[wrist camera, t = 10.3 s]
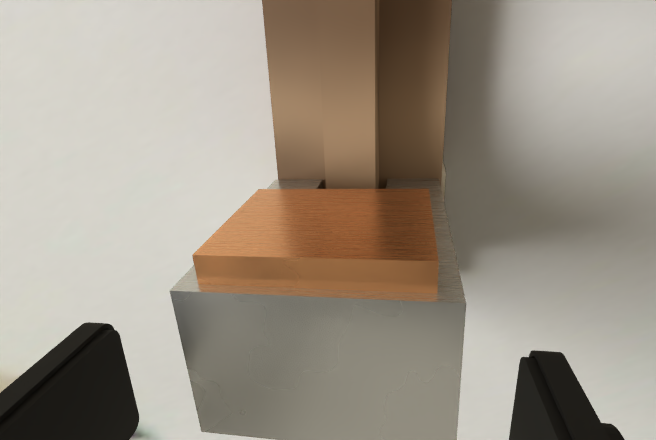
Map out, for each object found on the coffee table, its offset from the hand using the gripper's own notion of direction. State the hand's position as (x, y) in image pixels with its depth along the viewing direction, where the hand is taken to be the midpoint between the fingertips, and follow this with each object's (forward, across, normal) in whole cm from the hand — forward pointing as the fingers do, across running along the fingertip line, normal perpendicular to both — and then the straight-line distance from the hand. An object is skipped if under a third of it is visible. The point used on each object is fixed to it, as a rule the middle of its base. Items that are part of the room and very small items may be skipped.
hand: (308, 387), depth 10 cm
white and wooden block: (+8, 0, -1) cm, 8 cm away
